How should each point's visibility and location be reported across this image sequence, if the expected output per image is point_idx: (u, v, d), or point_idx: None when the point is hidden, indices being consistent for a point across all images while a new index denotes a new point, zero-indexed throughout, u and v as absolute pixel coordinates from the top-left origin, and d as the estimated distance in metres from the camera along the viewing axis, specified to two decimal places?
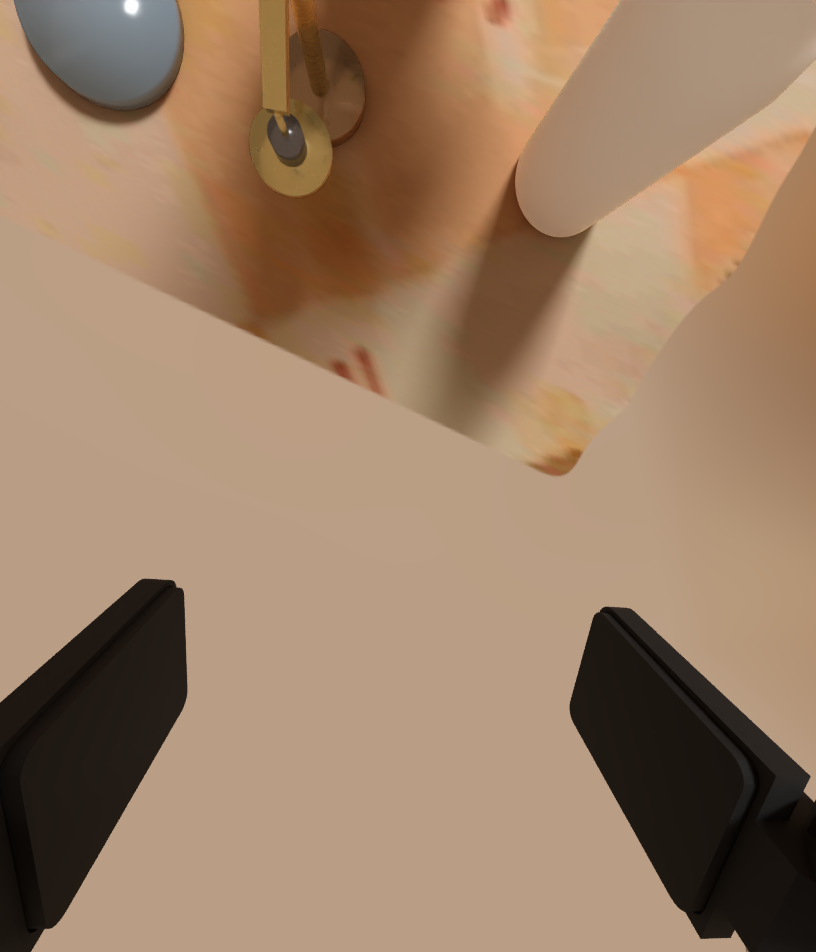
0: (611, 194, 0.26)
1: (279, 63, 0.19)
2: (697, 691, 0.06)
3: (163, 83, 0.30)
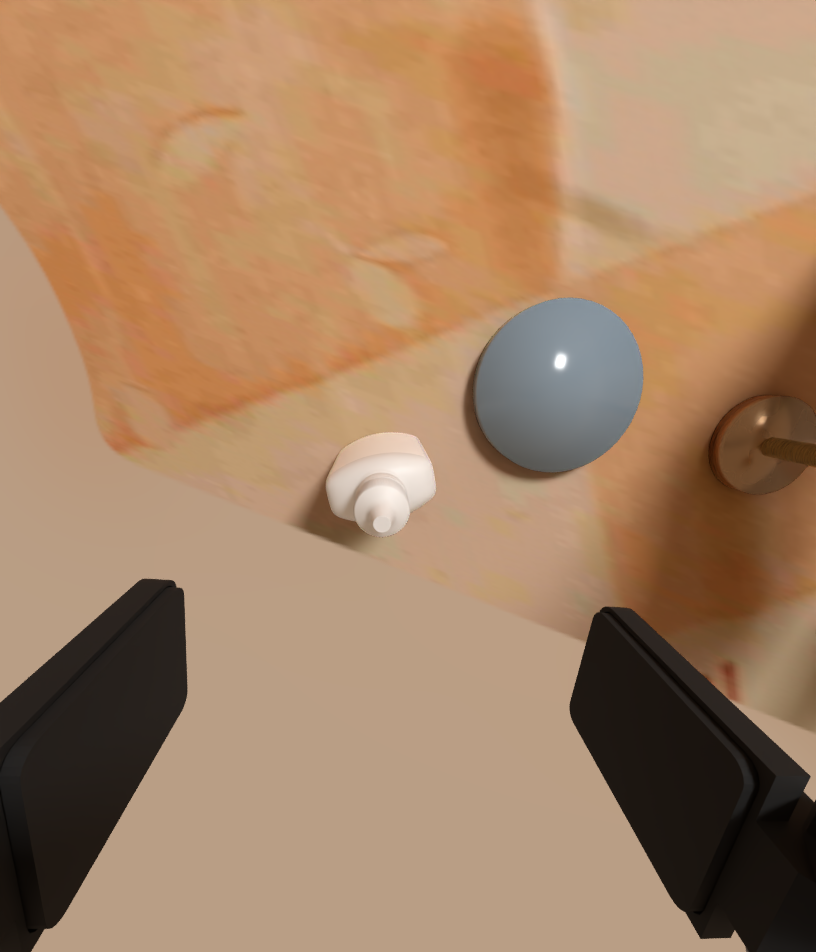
0: None
1: None
2: (697, 691, 0.06)
3: None
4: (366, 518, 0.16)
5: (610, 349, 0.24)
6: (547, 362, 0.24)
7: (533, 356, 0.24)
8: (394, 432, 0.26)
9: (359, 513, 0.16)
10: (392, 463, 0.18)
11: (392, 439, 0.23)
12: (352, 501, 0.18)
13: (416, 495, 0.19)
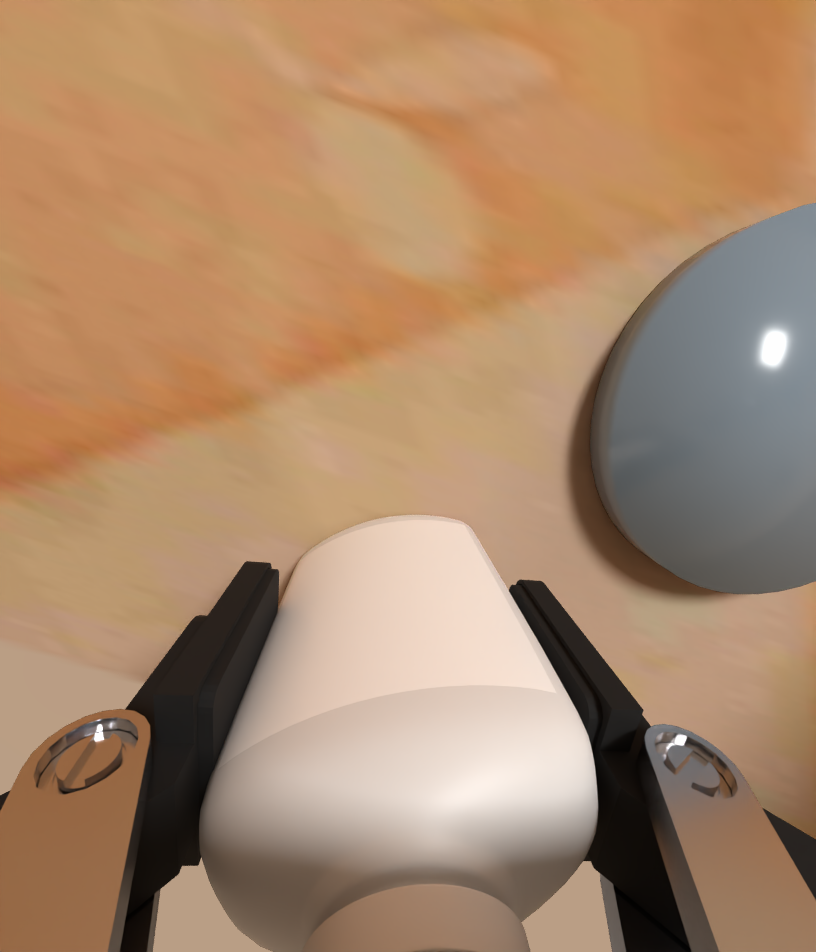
0: None
1: None
2: (573, 646, 0.07)
3: None
4: None
5: None
6: (781, 359, 0.10)
7: (752, 345, 0.10)
8: (419, 517, 0.12)
9: None
10: (456, 787, 0.04)
11: (422, 559, 0.09)
12: (290, 940, 0.04)
13: (548, 888, 0.05)
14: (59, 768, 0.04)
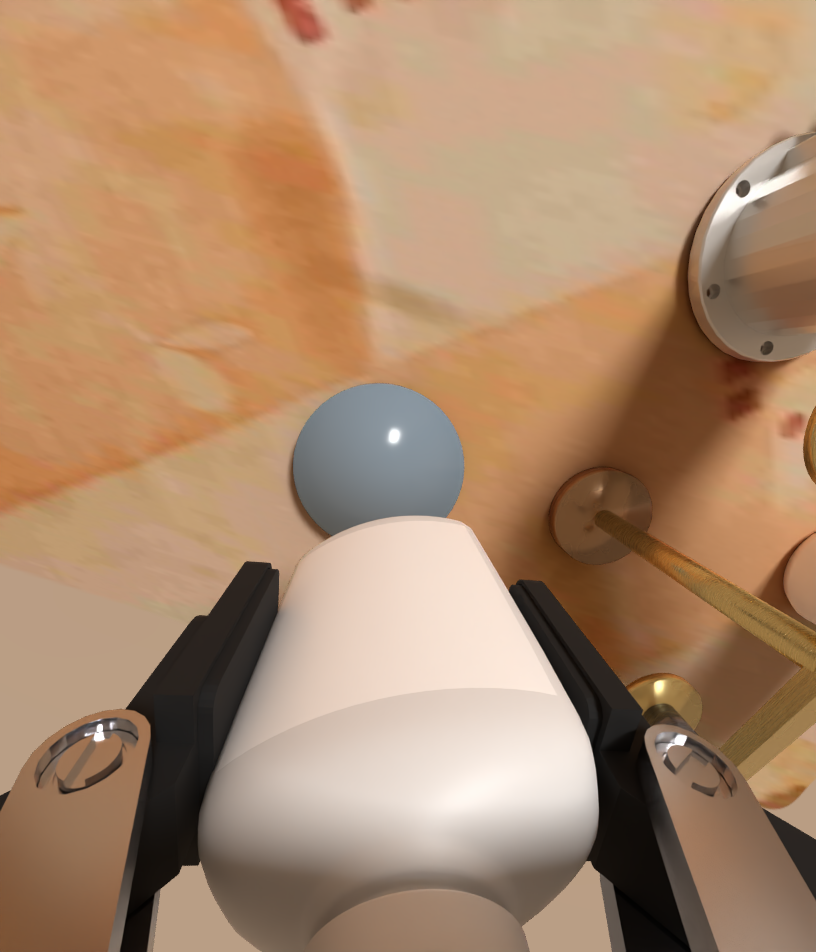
0: None
1: (747, 776, 0.16)
2: (573, 646, 0.07)
3: None
4: None
5: (425, 431, 0.24)
6: (362, 445, 0.24)
7: (347, 440, 0.24)
8: (419, 518, 0.12)
9: None
10: (456, 790, 0.04)
11: (422, 560, 0.09)
12: (290, 944, 0.04)
13: (548, 892, 0.05)
14: (59, 768, 0.04)
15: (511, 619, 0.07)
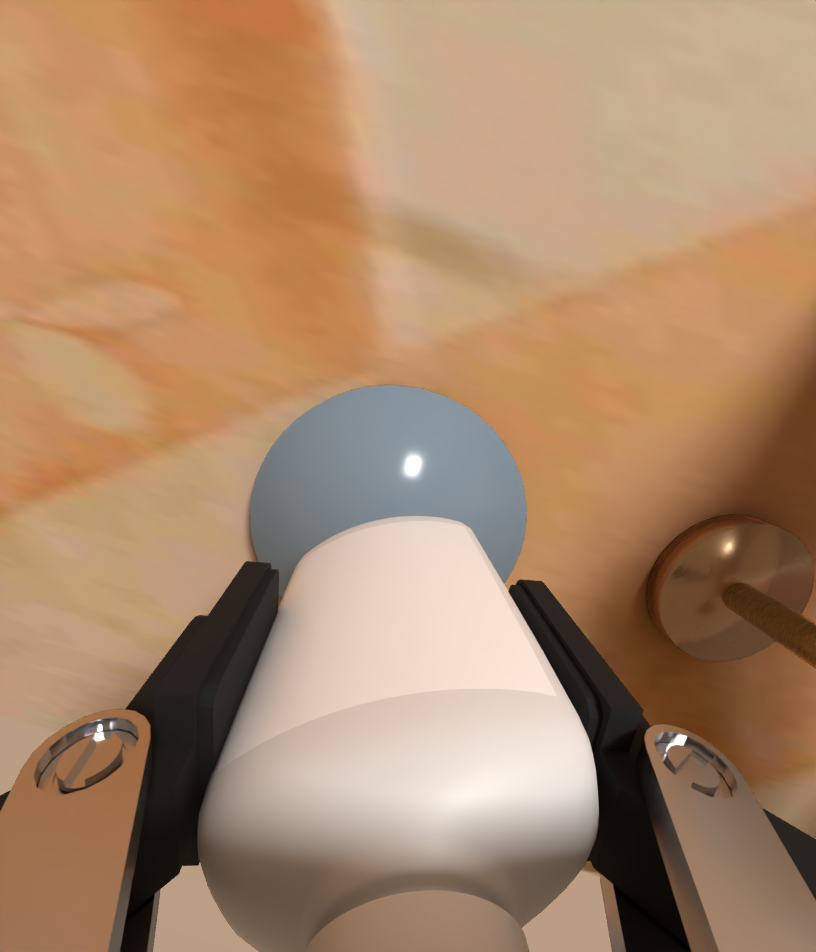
0: None
1: None
2: (573, 646, 0.07)
3: None
4: None
5: (466, 464, 0.15)
6: (363, 486, 0.15)
7: (338, 478, 0.15)
8: (419, 518, 0.12)
9: None
10: (456, 791, 0.04)
11: (422, 561, 0.09)
12: (289, 945, 0.04)
13: (548, 893, 0.05)
14: (59, 768, 0.04)
15: (511, 620, 0.07)
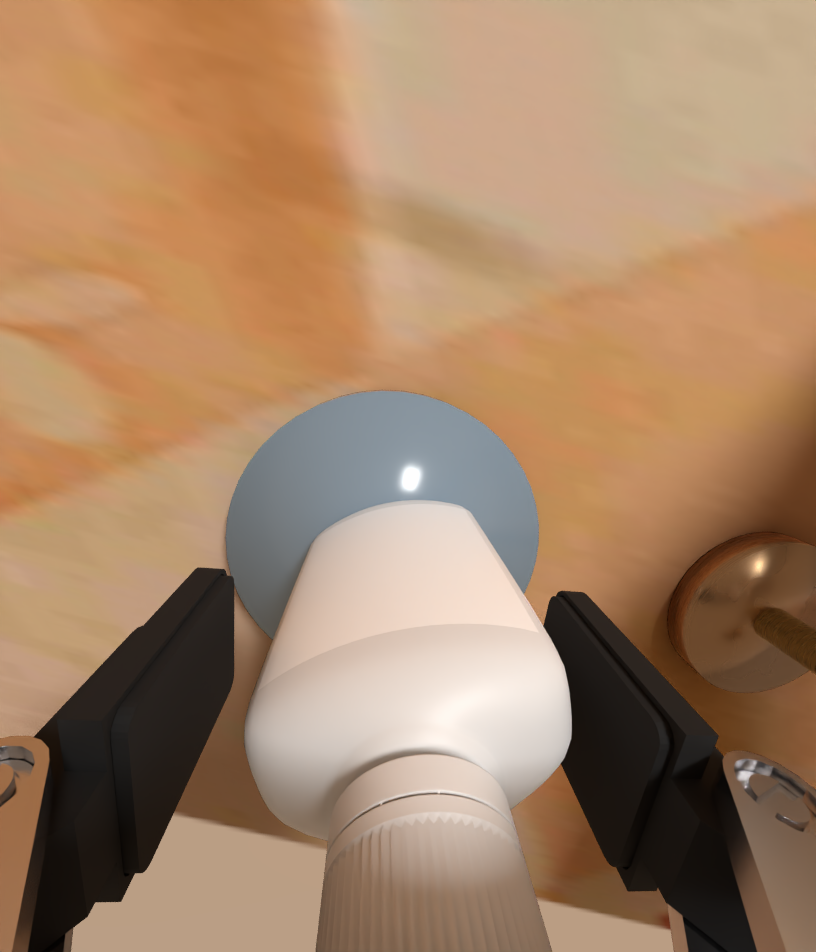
0: None
1: None
2: (631, 664, 0.07)
3: None
4: None
5: (472, 480, 0.13)
6: (355, 505, 0.13)
7: (326, 496, 0.13)
8: (424, 501, 0.13)
9: None
10: (455, 692, 0.06)
11: (426, 534, 0.10)
12: (321, 814, 0.06)
13: (528, 781, 0.06)
14: None
15: (503, 579, 0.08)
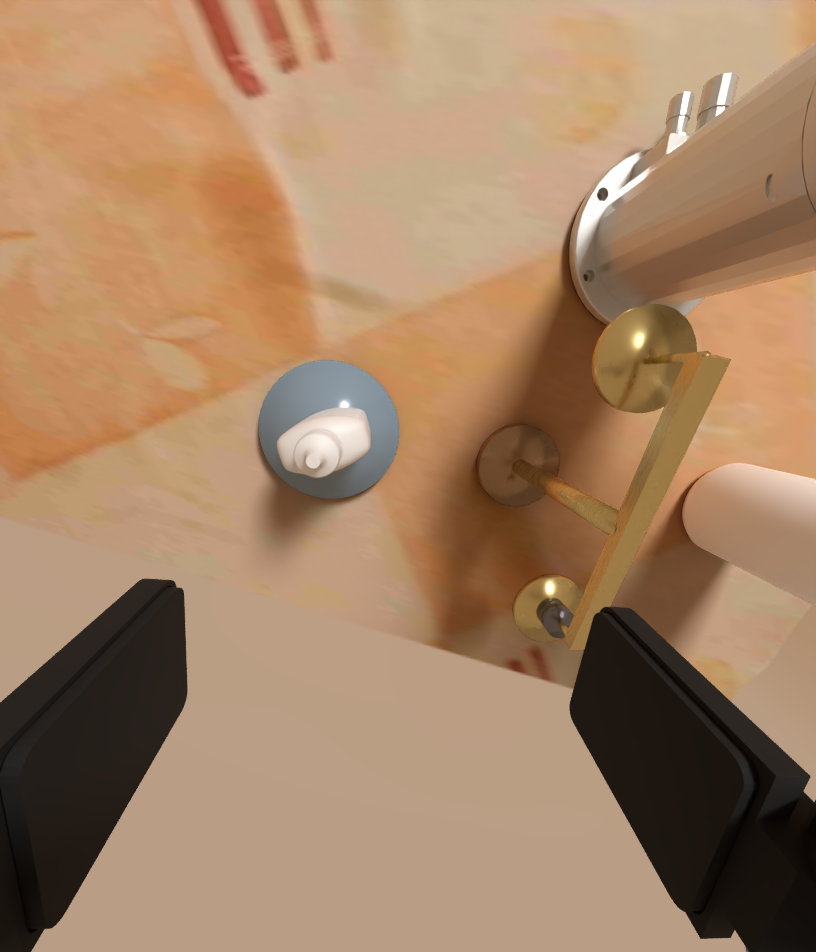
0: None
1: None
2: (697, 691, 0.06)
3: None
4: (303, 461, 0.20)
5: (365, 398, 0.30)
6: (314, 411, 0.30)
7: (301, 407, 0.30)
8: (343, 407, 0.30)
9: (298, 457, 0.20)
10: (329, 422, 0.22)
11: (338, 410, 0.27)
12: None
13: (351, 448, 0.23)
14: None
15: (357, 414, 0.25)
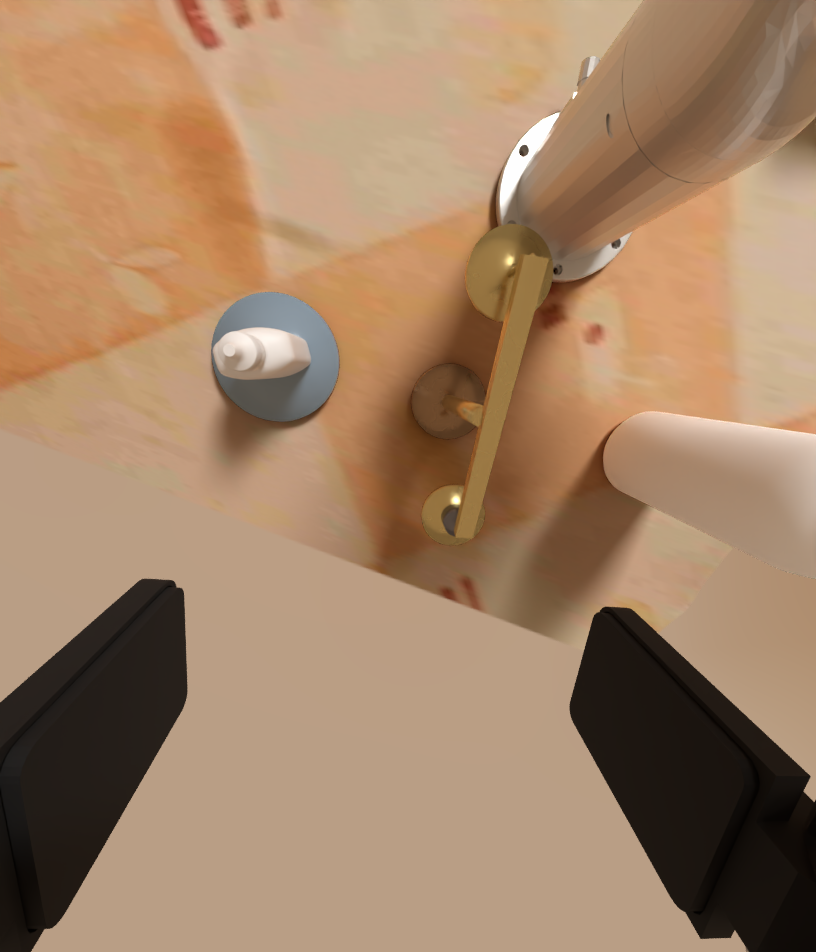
0: None
1: (473, 517, 0.26)
2: (697, 691, 0.06)
3: (322, 404, 0.36)
4: (225, 354, 0.24)
5: (307, 329, 0.34)
6: None
7: None
8: None
9: (221, 351, 0.24)
10: (256, 330, 0.26)
11: None
12: None
13: (275, 355, 0.26)
14: None
15: (289, 333, 0.29)
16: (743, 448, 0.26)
